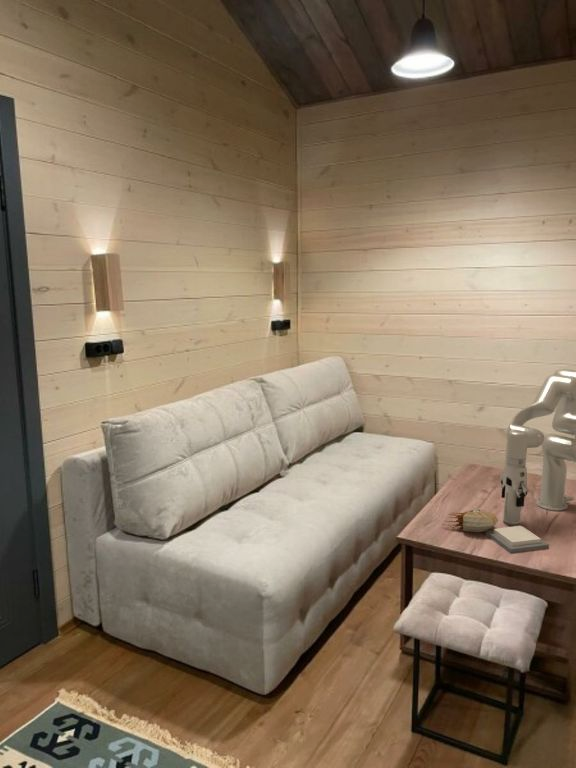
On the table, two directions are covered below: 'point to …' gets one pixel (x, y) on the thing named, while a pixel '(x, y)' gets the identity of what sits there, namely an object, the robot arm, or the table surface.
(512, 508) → the travel mug
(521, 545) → the pedestal
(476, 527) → the nautilus shell
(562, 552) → the table surface
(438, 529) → the table surface
